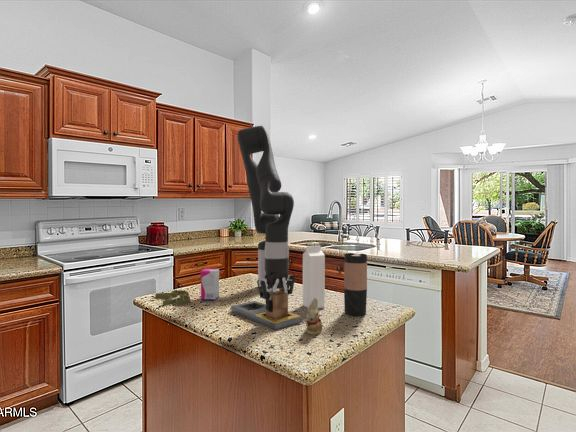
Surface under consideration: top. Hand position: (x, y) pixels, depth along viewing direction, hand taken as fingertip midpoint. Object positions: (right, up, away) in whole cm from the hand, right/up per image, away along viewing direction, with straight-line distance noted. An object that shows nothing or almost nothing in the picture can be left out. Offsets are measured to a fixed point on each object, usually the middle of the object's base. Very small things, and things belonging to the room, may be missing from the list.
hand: (276, 309), depth 110 cm
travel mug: (+27, -4, +9) cm, 28 cm away
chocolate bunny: (+11, -4, -8) cm, 15 cm away
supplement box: (-27, -3, +28) cm, 39 cm away
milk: (+13, -4, +17) cm, 22 cm away
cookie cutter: (-40, -4, +26) cm, 48 cm away
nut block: (0, -3, 0) cm, 3 cm away
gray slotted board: (-4, -4, +5) cm, 7 cm away
